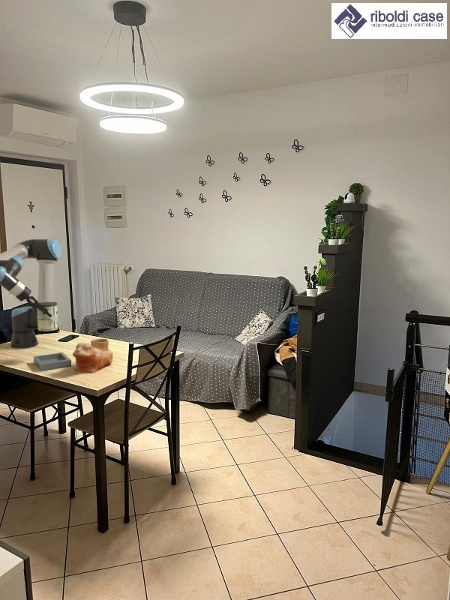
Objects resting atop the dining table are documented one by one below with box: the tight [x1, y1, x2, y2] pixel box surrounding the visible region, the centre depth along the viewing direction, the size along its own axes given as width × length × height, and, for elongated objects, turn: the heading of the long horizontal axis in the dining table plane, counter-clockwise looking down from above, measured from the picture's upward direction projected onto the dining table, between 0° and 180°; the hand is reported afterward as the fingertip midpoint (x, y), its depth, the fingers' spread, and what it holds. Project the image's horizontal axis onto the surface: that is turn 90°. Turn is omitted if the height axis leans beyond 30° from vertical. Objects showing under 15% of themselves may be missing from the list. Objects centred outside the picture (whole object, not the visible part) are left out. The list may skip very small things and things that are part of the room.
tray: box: [33, 351, 72, 372], centre depth 234 cm, size 17×15×4 cm
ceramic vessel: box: [72, 338, 114, 374], centre depth 229 cm, size 14×26×15 cm, turn 160°
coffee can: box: [37, 301, 59, 332], centre depth 238 cm, size 10×10×14 cm
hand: (53, 318), depth 240 cm, fingers closed on coffee can, 10 cm apart
